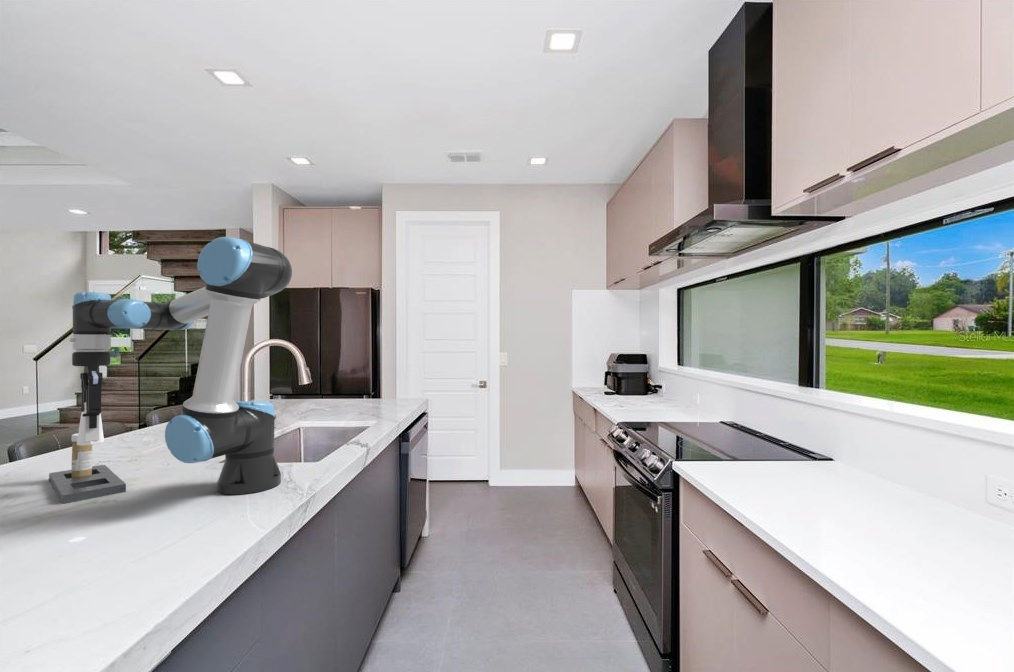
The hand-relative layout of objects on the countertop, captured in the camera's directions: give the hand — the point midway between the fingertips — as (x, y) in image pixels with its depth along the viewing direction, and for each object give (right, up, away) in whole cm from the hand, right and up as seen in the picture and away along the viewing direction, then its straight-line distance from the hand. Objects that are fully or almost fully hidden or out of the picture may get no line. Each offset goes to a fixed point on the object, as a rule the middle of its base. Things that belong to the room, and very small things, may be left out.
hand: (90, 439), depth 121 cm
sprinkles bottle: (-11, -14, +9) cm, 20 cm away
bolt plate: (-5, -14, +4) cm, 15 cm away
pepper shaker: (0, -1, 0) cm, 1 cm away
